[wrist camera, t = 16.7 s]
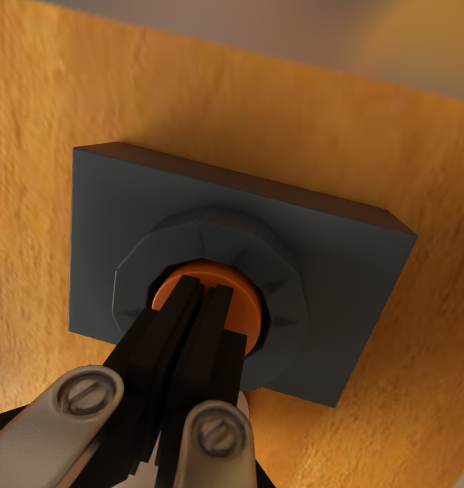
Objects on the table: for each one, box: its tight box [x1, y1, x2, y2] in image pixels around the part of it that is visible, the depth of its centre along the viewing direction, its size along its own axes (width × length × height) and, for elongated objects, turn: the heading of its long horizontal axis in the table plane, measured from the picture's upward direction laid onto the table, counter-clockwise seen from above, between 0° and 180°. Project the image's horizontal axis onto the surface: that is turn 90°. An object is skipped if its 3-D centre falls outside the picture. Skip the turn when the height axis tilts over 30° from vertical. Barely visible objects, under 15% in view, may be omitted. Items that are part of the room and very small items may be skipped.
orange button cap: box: [152, 258, 263, 355], centre depth 11 cm, size 4×4×2 cm
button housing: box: [68, 142, 418, 408], centre depth 13 cm, size 12×8×5 cm, turn 77°
